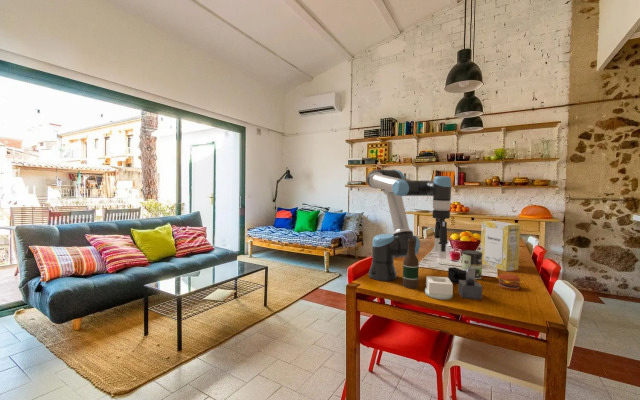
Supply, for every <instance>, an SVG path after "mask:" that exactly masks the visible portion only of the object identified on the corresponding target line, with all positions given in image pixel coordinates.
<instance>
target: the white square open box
mask: <svg viewBox="0 0 640 400" xmlns="http://www.w3.org/2000/svg"><path fill="white" fill-rule="evenodd" d="M425 280H426V281H425V286H426V287H427V290H428V292H429V293H431V294H443V295H452V292H453V291H454V290H453V289H454V285H453V284H454V283H453V282H451V281H450V280H449V278H448V276H434V275H433V276H432V275H426V278H425ZM426 287H425V288H426Z"/></svg>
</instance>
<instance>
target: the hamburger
mask: <svg viewBox="0 0 640 400" xmlns="http://www.w3.org/2000/svg"><path fill="white" fill-rule="evenodd" d="M495 278H496V279H498V287H499V288H502V289H505V290H509V291H518V290H520V284H524V281H523V280H521V279H520V277H518V276H517V275H515V274H511V273H501V274H499V275H498V276H497V277H495Z"/></svg>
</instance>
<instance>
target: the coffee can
mask: <svg viewBox="0 0 640 400" xmlns="http://www.w3.org/2000/svg"><path fill="white" fill-rule="evenodd" d="M482 254H483V253H482V252H481V251H480V250H479V251H478V250H472V249H471V250H470V249H465V250H462V251H461V255H462V256H461V270H463V271H466V268H467V267H471V268H475V280H481V279H482V275H483V273H482V269H483V264H482Z"/></svg>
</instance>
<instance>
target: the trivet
mask: <svg viewBox="0 0 640 400" xmlns="http://www.w3.org/2000/svg"><path fill="white" fill-rule="evenodd" d="M424 294H425V295H426V296H427V297H428V298H431V299H434V300H441V301H442V300H445V301H446V300H451V299H453V297H454V296H453V295H454V294H453V292H452V295H443V294H431V293H429V292H428V290H427V287H425V288H424Z"/></svg>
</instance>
